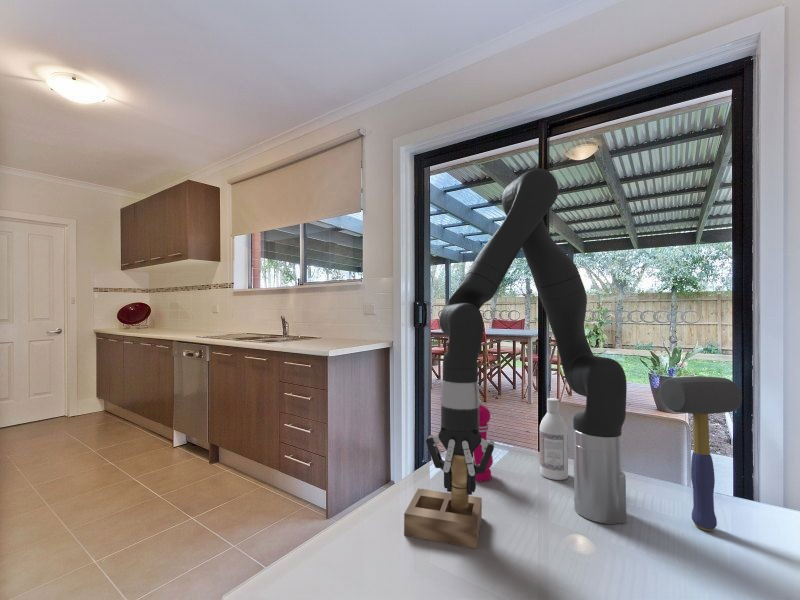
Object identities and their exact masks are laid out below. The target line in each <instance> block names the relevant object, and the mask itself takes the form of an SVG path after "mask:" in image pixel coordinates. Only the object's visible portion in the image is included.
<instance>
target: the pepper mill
mask: <svg viewBox="0 0 800 600" xmlns="http://www.w3.org/2000/svg"><path fill="white" fill-rule="evenodd" d="M490 420H491V412H490V410H489V409H488V407H486V406H485V405H483V401H482V400H481V399H480V398H479V432H480V434H481V436H482V439H484V440H486V441H488V440H487V434H488V433H487V432H488V431H489V422H490ZM473 453H474V460H475V465H478V464H480V462H481V459H482V457H483V455H484V452H483V451H482V445H481V444H479V446H478V447H477V448H476V450H475V451H474V452H473ZM493 463H494V460H493V454H492V455H491V457H490V460H489V462H488V464H487V467H486V469H485V472H484V473H483V474H480V473H479V474H477V475H476V482H487V480H488V481H489V480H491V479H490V478H492V470H491V469H490V468H491V467H492V466H493Z"/></svg>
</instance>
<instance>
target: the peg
mask: <svg viewBox="0 0 800 600" xmlns="http://www.w3.org/2000/svg"><path fill="white" fill-rule="evenodd" d="M468 458H469V457H468ZM468 474H469V472H468V467H467V464H466V460H465V456H461V455H453V456H452V461H451V492H450V493H451V506H452V507H453V508H455V509H458V510H464V509H467V508H468V507H469V496H470V495H468Z"/></svg>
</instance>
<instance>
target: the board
mask: <svg viewBox="0 0 800 600" xmlns="http://www.w3.org/2000/svg"><path fill="white" fill-rule="evenodd" d="M482 499H483V498H482V497H479V496H473V495H469V507H468V508H467V509H464V510H458V509H455V508H453V507H452V506H451V492H447V491H446V492H445V491H437V490H432V489H431V490H430V489H424V488H417V490H416V491H415V494H414V495H413V497H412V499H411V500H410V502H409V504H408V506H407V508H406V509H405V511H404V514H403V515H404V516H403V535H404V536H407V537H411V538H412V537H413V538H418V539H424V540H430V541H433V542H439V543H446V544H452V545H456V546H463V547H466V548H473V549H478V544H479V537H480V530H481V523H482V517H483V516H482V515H483V514H482V511H483V509H482V507H483V506H482V504H483V501H482Z"/></svg>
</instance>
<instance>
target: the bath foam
mask: <svg viewBox="0 0 800 600" xmlns="http://www.w3.org/2000/svg"><path fill="white" fill-rule="evenodd" d="M546 407H547V412H546V413H545V415H544V416H543V417H542V419H541V422H540V424H539V434H538V435H539V436H538V437H539V473H540V475H542V476H543V477H545V478H547V479H550V480H553V481H554V480H555V481H564V480H566V479H567V478H568V477H569V448H568V447H569V445H568V444H569V443H568V442H569V440H568V439H569V438H568V437H569V435H568V434H569V433H568V427H567V425H566V422H565V421H564V419H563V416H562V415H561V414H560V399H558V398H556V397H554V398H553V397H548V398H547V399H546Z"/></svg>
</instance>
